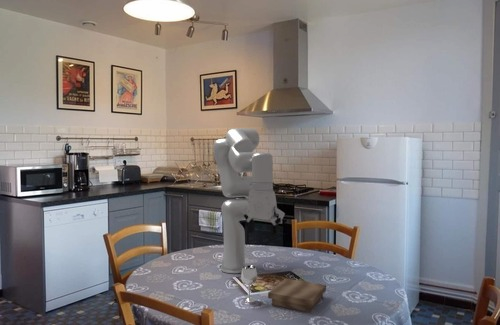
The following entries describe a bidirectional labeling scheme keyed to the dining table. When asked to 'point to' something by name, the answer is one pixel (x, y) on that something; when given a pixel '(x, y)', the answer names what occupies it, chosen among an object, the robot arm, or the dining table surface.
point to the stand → (297, 294)
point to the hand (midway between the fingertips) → (262, 234)
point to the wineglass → (249, 279)
